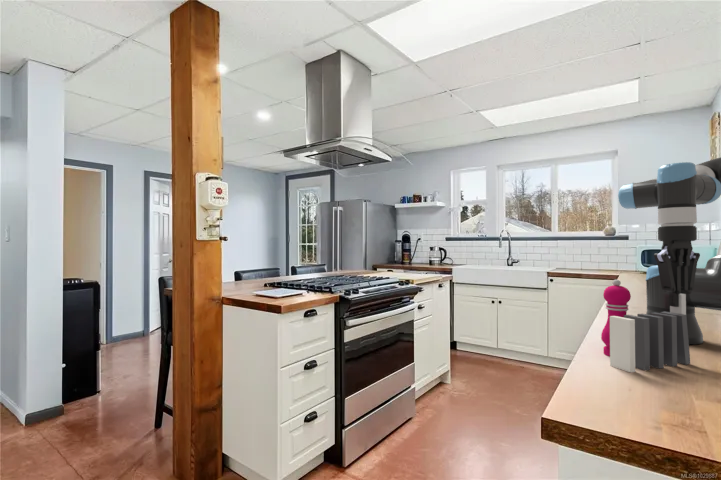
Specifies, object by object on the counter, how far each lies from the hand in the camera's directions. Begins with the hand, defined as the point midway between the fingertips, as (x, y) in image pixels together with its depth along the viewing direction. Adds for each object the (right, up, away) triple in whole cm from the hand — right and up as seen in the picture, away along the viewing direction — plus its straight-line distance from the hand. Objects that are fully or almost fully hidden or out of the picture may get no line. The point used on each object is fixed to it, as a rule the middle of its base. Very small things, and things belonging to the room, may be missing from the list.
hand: (678, 319), depth 96 cm
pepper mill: (-12, -11, +5) cm, 17 cm away
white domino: (-18, -11, -6) cm, 21 cm away
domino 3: (-5, -11, -2) cm, 12 cm away
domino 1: (-13, -11, -4) cm, 18 cm away
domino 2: (-9, -11, -3) cm, 14 cm away
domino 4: (0, -10, 0) cm, 10 cm away
